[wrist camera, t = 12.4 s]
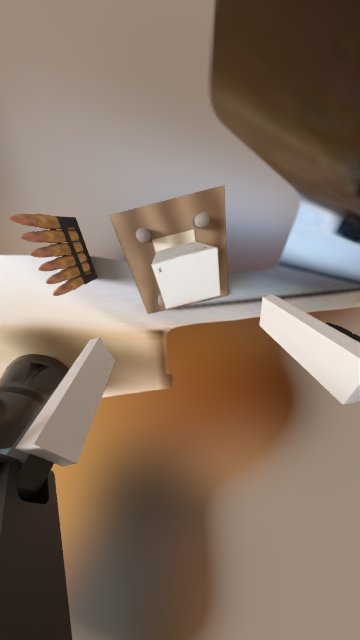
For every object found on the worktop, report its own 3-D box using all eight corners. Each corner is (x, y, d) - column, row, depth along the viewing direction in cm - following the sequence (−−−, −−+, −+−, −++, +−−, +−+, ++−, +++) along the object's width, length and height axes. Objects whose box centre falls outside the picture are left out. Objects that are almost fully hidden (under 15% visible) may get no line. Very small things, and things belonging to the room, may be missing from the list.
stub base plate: (148, 311, 36) (146, 322, 31) (111, 216, 25) (99, 212, 20) (225, 293, 35) (234, 302, 30) (221, 187, 24) (234, 176, 20)
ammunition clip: (97, 278, 30) (63, 300, 20) (88, 278, 30) (50, 301, 20) (75, 217, 25) (13, 206, 15) (64, 218, 25) (-6, 207, 14)
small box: (164, 282, 31) (164, 310, 20) (155, 251, 27) (149, 263, 16) (201, 273, 30) (221, 296, 19) (196, 240, 27) (218, 245, 16)
